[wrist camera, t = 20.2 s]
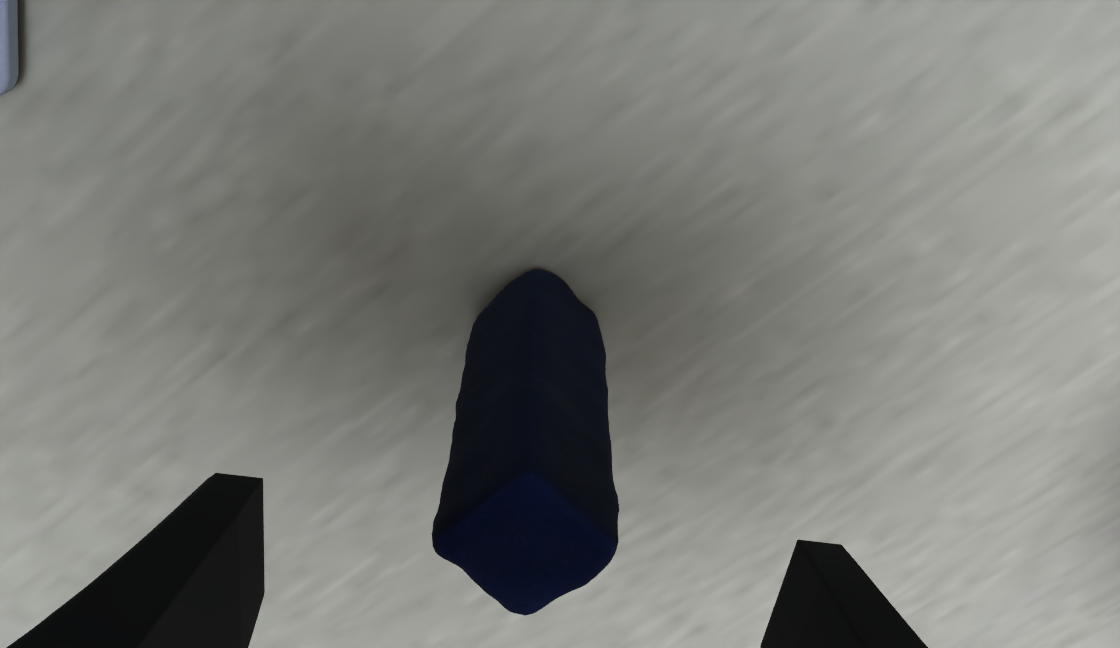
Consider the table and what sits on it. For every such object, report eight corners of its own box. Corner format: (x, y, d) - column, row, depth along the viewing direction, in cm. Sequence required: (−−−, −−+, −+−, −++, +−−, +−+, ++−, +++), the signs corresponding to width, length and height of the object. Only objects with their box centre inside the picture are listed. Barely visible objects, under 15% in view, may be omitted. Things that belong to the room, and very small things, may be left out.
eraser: (543, 251, 18) (528, 467, 12) (614, 328, 19) (633, 567, 13) (461, 313, 19) (409, 547, 13) (533, 385, 19) (516, 637, 13)
